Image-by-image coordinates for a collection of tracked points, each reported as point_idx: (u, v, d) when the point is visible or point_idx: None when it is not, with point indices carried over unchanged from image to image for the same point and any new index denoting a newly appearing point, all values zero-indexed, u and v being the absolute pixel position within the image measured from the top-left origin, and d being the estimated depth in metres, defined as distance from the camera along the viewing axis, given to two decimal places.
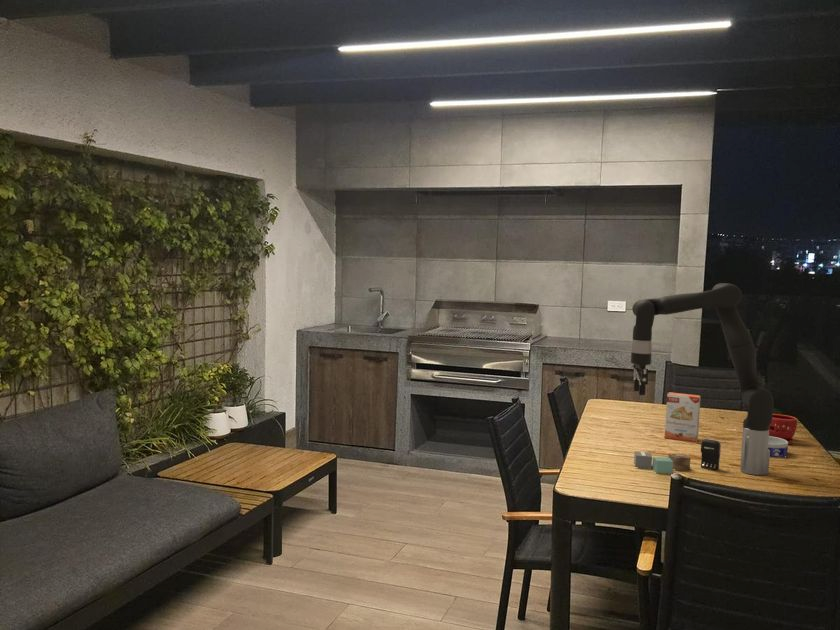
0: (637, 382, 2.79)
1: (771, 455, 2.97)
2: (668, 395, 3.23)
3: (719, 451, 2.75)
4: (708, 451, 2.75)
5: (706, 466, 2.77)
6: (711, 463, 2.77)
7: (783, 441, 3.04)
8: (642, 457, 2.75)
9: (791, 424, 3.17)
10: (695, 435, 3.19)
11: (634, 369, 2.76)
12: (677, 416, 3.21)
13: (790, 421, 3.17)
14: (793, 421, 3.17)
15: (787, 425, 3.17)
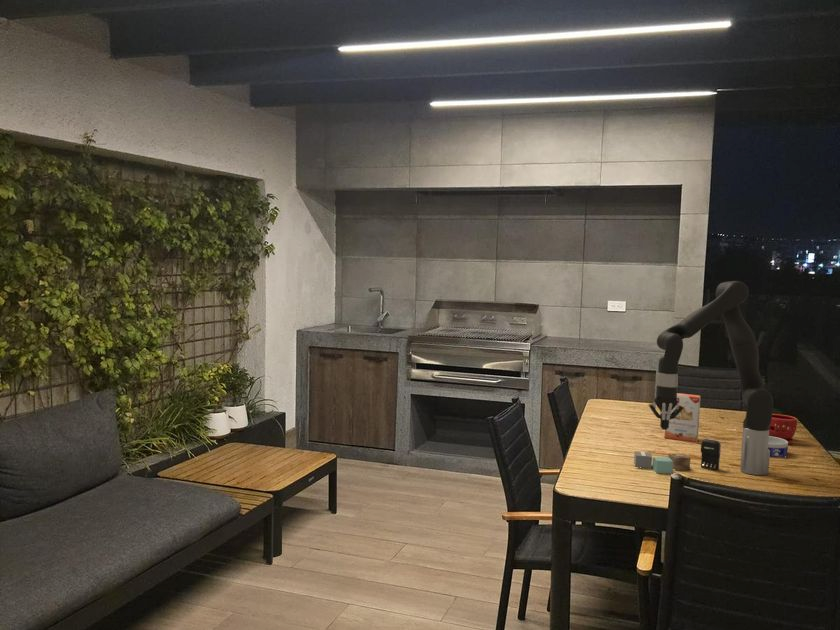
0: None
1: (771, 454, 2.97)
2: None
3: (719, 451, 2.75)
4: (708, 451, 2.75)
5: (706, 466, 2.77)
6: (711, 463, 2.77)
7: (783, 441, 3.04)
8: (642, 457, 2.75)
9: (791, 424, 3.17)
10: (695, 435, 3.19)
11: (663, 404, 2.68)
12: (677, 416, 3.21)
13: (790, 421, 3.17)
14: (793, 421, 3.17)
15: (787, 425, 3.17)
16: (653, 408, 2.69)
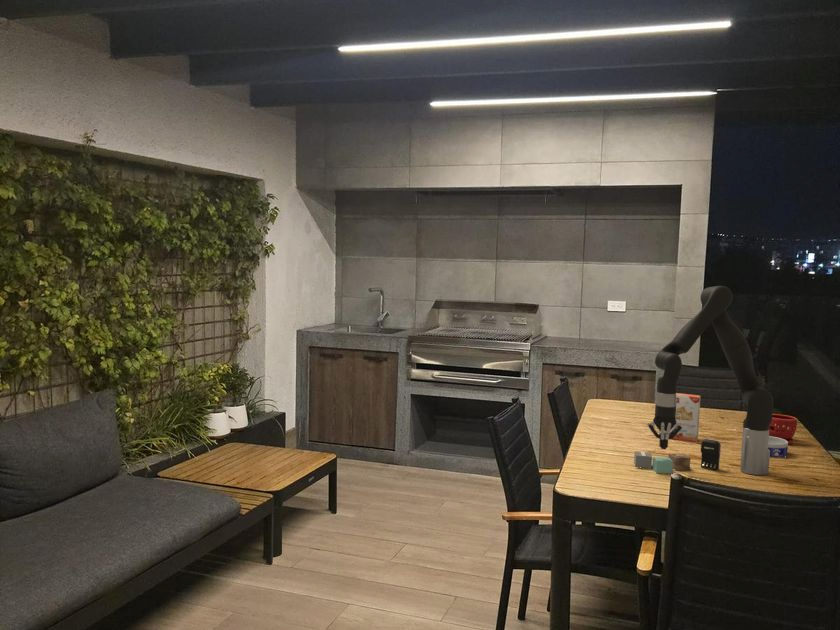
0: None
1: (771, 455, 2.97)
2: None
3: (719, 451, 2.75)
4: (708, 451, 2.75)
5: (706, 466, 2.77)
6: (711, 463, 2.77)
7: (783, 441, 3.04)
8: (642, 457, 2.75)
9: (791, 424, 3.17)
10: (695, 435, 3.19)
11: (662, 424, 2.69)
12: (677, 416, 3.21)
13: (790, 421, 3.17)
14: (793, 421, 3.17)
15: (787, 425, 3.17)
16: (652, 428, 2.70)
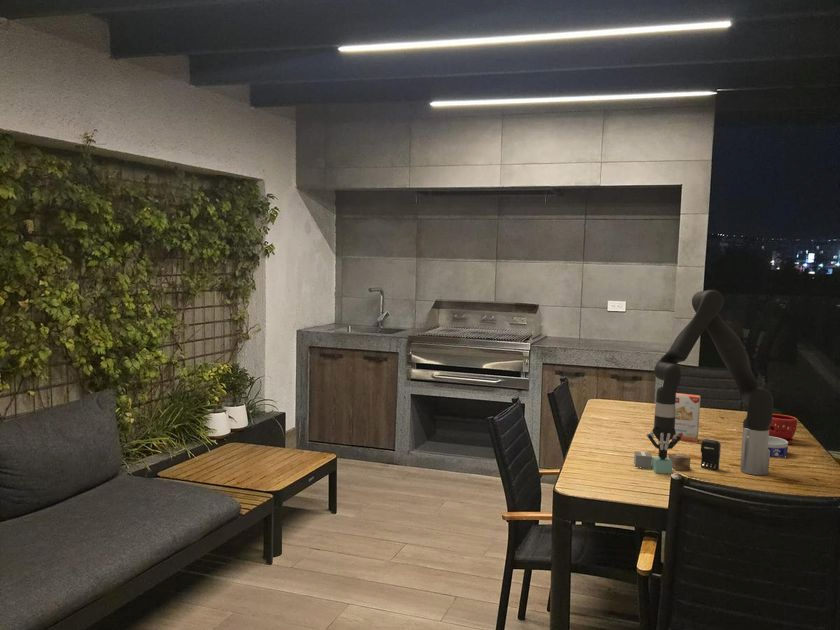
0: None
1: (771, 455, 2.97)
2: None
3: (719, 451, 2.75)
4: (708, 451, 2.75)
5: (706, 466, 2.77)
6: (711, 463, 2.77)
7: (783, 441, 3.04)
8: (642, 457, 2.75)
9: (791, 424, 3.17)
10: (695, 435, 3.19)
11: (661, 434, 2.69)
12: (677, 416, 3.21)
13: (790, 421, 3.17)
14: (793, 421, 3.17)
15: (787, 425, 3.17)
16: (651, 438, 2.70)
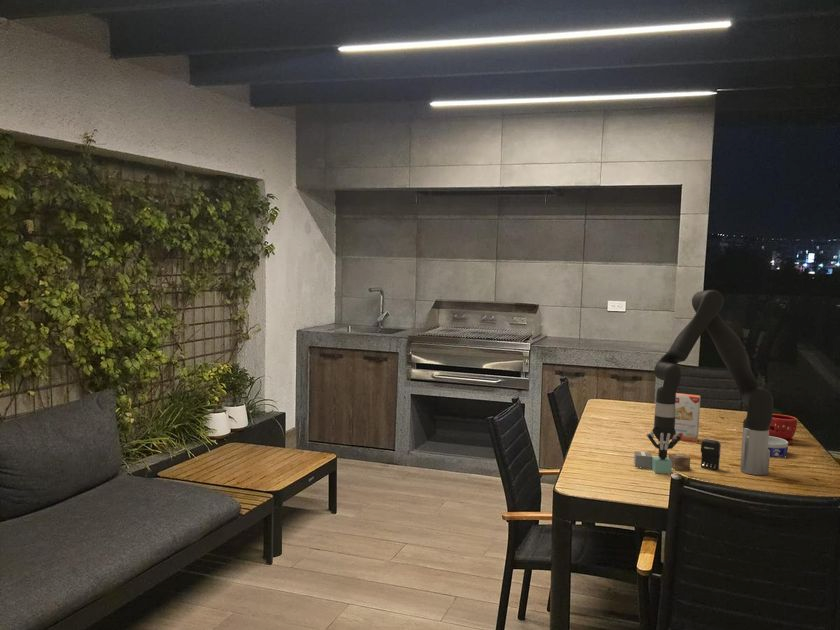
0: None
1: (771, 455, 2.97)
2: None
3: (719, 451, 2.75)
4: (708, 451, 2.75)
5: (706, 466, 2.77)
6: (711, 463, 2.77)
7: (783, 441, 3.04)
8: (642, 457, 2.75)
9: (791, 424, 3.17)
10: (695, 435, 3.19)
11: (661, 434, 2.69)
12: (677, 416, 3.21)
13: (790, 421, 3.17)
14: (793, 421, 3.17)
15: (787, 425, 3.17)
16: (651, 438, 2.70)
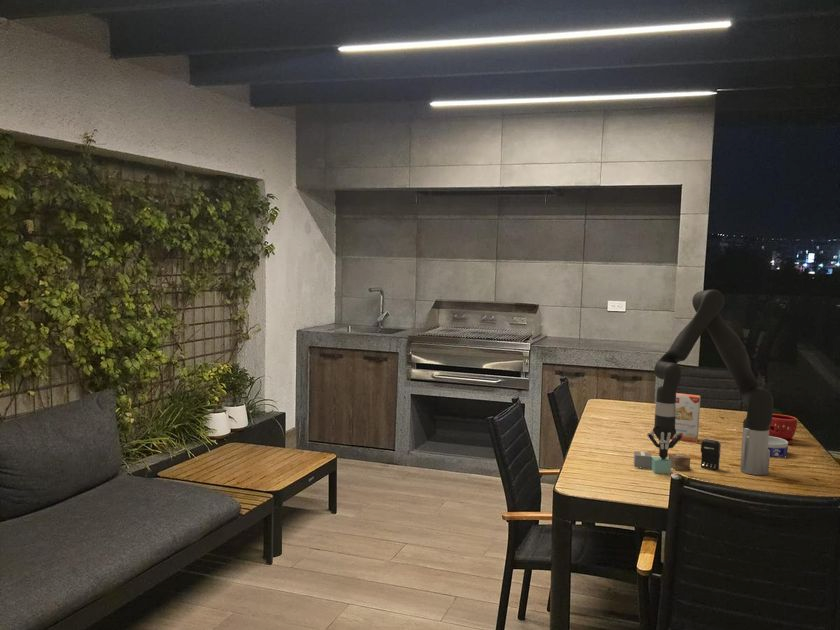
0: None
1: (771, 455, 2.97)
2: None
3: (719, 451, 2.75)
4: (708, 451, 2.75)
5: (706, 466, 2.77)
6: (711, 463, 2.77)
7: (783, 441, 3.04)
8: (641, 457, 2.75)
9: (791, 424, 3.17)
10: (695, 435, 3.19)
11: (662, 433, 2.69)
12: (677, 416, 3.21)
13: (790, 421, 3.17)
14: (793, 421, 3.17)
15: (787, 425, 3.17)
16: (652, 437, 2.70)
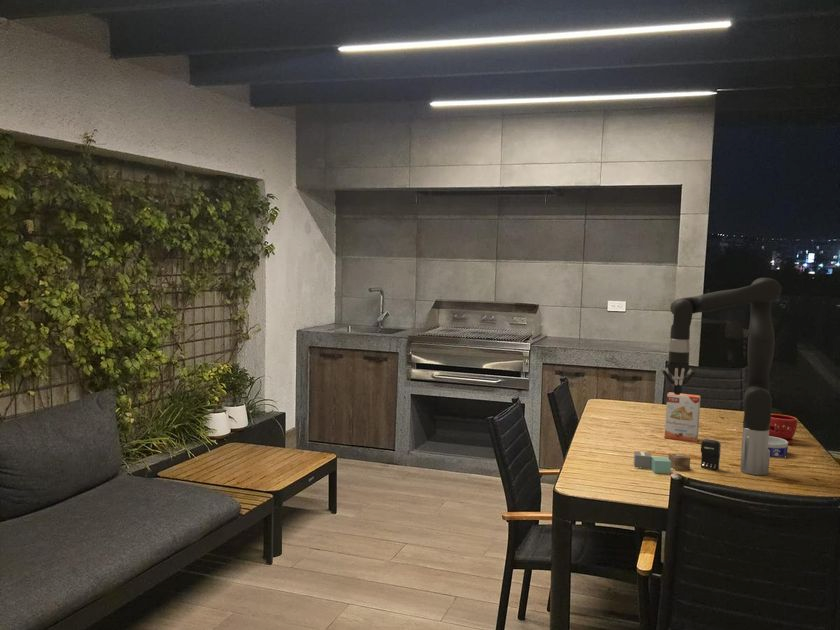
0: None
1: (771, 455, 2.97)
2: (668, 395, 3.23)
3: (719, 451, 2.75)
4: (708, 451, 2.75)
5: (706, 466, 2.77)
6: (711, 463, 2.77)
7: (783, 441, 3.04)
8: (641, 457, 2.75)
9: (791, 424, 3.17)
10: (695, 435, 3.19)
11: (676, 369, 2.73)
12: (677, 416, 3.21)
13: (790, 421, 3.17)
14: (793, 421, 3.17)
15: (787, 425, 3.17)
16: (666, 373, 2.75)
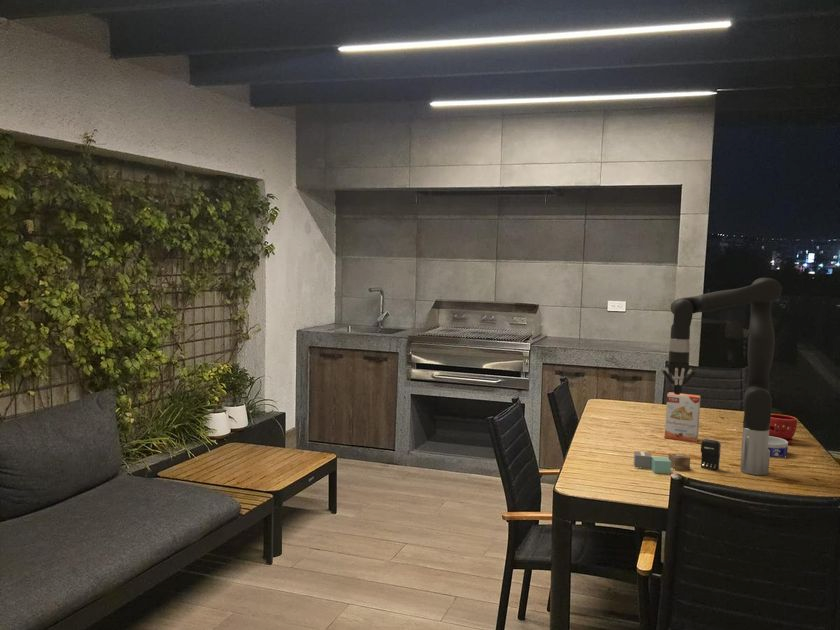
0: None
1: (771, 455, 2.97)
2: (668, 395, 3.23)
3: (719, 451, 2.75)
4: (708, 451, 2.75)
5: (706, 466, 2.77)
6: (711, 463, 2.77)
7: (783, 441, 3.04)
8: (641, 457, 2.75)
9: (791, 424, 3.17)
10: (695, 435, 3.19)
11: (676, 369, 2.74)
12: (677, 416, 3.21)
13: (790, 421, 3.17)
14: (793, 421, 3.17)
15: (787, 425, 3.17)
16: (666, 373, 2.75)
